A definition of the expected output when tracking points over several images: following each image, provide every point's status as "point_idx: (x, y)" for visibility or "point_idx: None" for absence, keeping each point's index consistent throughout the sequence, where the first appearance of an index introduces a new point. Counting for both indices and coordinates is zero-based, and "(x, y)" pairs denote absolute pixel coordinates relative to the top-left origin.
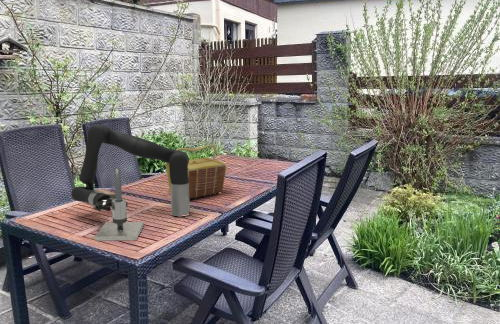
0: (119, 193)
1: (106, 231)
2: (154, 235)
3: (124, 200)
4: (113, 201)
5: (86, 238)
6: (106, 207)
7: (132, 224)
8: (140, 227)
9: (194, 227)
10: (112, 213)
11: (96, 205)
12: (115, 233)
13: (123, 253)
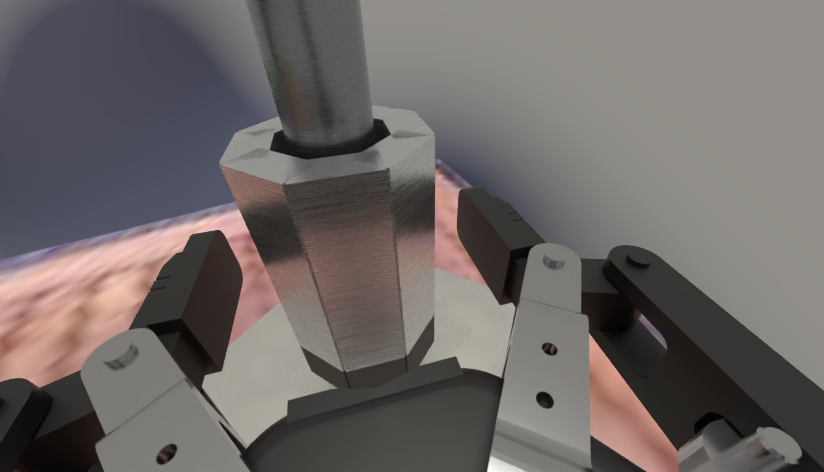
0: None
1: (490, 372)
2: (259, 265)
3: (275, 122)
4: (413, 127)
5: (647, 417)
6: (507, 209)
7: (242, 425)
8: (254, 327)
9: (49, 267)
10: (433, 273)
11: (712, 310)
12: (438, 306)
13: (450, 191)
